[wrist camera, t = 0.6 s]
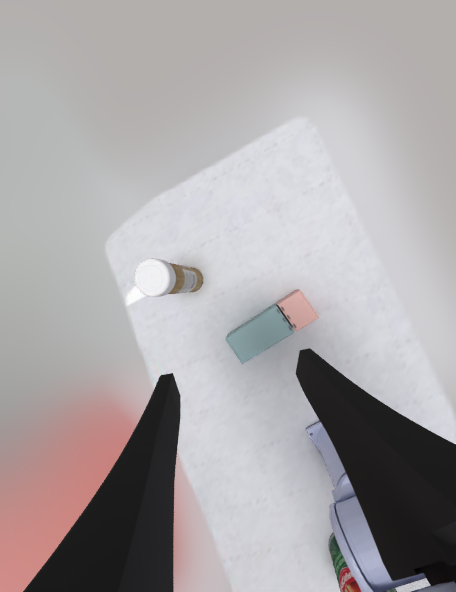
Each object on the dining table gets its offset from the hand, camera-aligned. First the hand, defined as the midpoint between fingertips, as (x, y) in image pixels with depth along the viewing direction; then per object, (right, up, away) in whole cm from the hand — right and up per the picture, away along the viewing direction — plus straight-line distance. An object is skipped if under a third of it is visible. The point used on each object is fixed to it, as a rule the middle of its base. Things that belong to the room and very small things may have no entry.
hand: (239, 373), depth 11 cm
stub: (+11, +2, +22) cm, 24 cm away
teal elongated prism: (+5, -2, +23) cm, 24 cm away
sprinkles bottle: (-7, +7, +25) cm, 27 cm away
